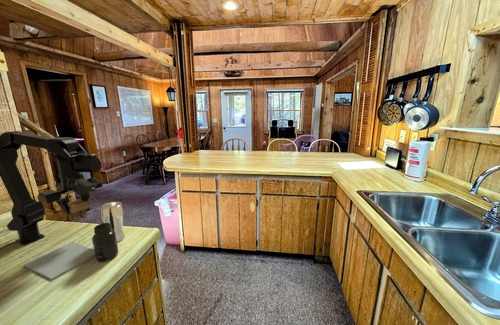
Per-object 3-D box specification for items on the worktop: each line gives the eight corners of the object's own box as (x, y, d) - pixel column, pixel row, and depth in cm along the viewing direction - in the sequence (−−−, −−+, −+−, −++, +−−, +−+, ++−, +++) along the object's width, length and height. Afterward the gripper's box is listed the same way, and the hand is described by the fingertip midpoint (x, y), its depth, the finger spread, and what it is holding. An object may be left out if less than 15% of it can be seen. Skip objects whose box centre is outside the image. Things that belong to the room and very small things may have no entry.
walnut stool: (65, 220, 79) (62, 204, 78) (81, 214, 84) (78, 199, 83) (75, 223, 77) (72, 207, 76) (90, 216, 82) (88, 201, 81)
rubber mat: (23, 266, 69) (23, 264, 68) (72, 242, 81) (72, 241, 81) (52, 280, 63) (51, 278, 63) (99, 253, 76) (99, 251, 75)
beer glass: (116, 245, 80) (111, 209, 77) (101, 242, 82) (95, 207, 78) (129, 235, 87) (125, 202, 84) (115, 233, 88) (111, 200, 85)
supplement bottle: (105, 249, 78) (100, 220, 75) (122, 250, 77) (118, 221, 75) (90, 262, 71) (85, 230, 68) (109, 263, 71) (105, 231, 68)
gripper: (52, 181, 65) (61, 226, 69) (109, 168, 82) (114, 204, 86) (32, 177, 69) (41, 220, 73) (90, 165, 86) (96, 200, 90)
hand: (76, 210), depth 80 cm, fingers closed on walnut stool, 5 cm apart
